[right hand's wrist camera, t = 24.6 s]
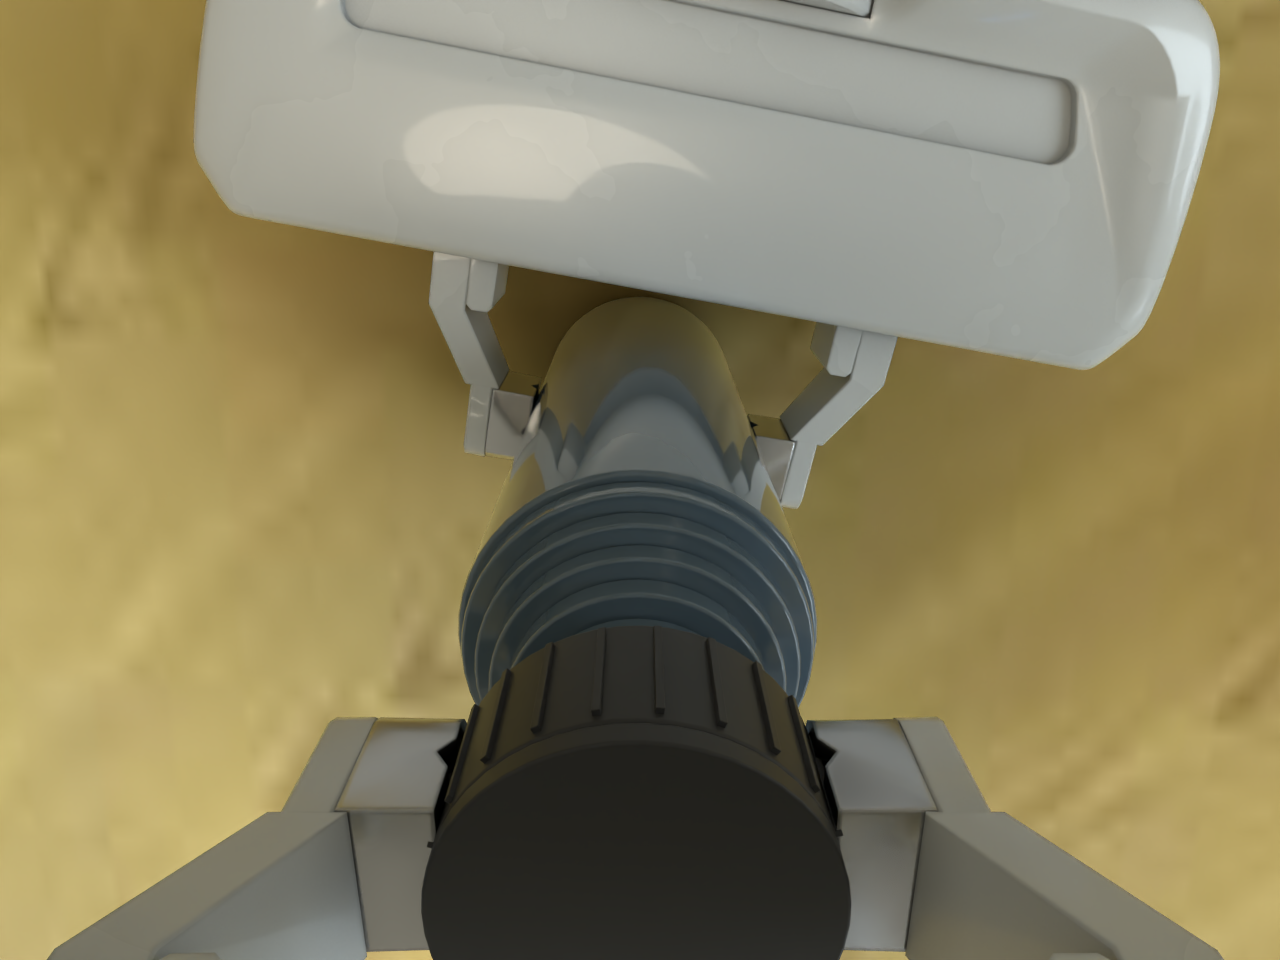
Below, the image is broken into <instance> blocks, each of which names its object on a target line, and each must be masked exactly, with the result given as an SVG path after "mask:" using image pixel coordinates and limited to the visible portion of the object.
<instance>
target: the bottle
mask: <svg viewBox="0 0 1280 960" xmlns="http://www.w3.org/2000/svg"><path fill="white" fill-rule="evenodd" d="M617 626H662V627H665V628H672V629H676V630H681V631H686V632H691V633H694V634H697V635H700V636H703V637H706V638H708V637H711V638H713V639H715V640H716V641H717V642H719V643H721V644H723V645H725V646H727V647H729V648H732V649H734V650H736V651H737V652H739V653H740V654H742V655H743V656H745V657H747V658H748V659H750V660H751V661H753V662H755V661H757V662H759V663H760V664H761V665H762V669H763V670H764V671H765V672H766V673H768V674H769V675H770V676H771V677H772V678H773V679H774V680H775V681H776V682H777V683H778V684H779V685H780V687H781V688H782V689H783V690H784V691H785V692H786V693H787V695H788V696H790V695H793V696H794V698H795V699H796V702H797V706H798V707H799V705H800V703H801V701H802V699H803V697H804V695H805V692H806V689H807V685H808V682H809V679H810V676H811V670H812V664H813V659H814V654H815V648H816V642H817V613H816V605H815V598H814V595H813V591H812V588H811V584H810V581H809V578H808V575H807V572H806V570H805V567H804V564H803V562H802V559H801V556H800V554H799V551H798V549H797V546H796V543H795V541H794V538H793V535H792V533H791V530H790V527H789V525H788V522H787V520H786V517H785V514H784V512H783V509H782V506H781V504H780V501H779V498H778V496H777V493H776V491H775V488H774V485H773V483H772V480H771V477H770V475H769V472H768V469H767V467H766V464H765V462H764V459H763V456H762V454H761V451H760V448H759V446H758V443H757V440H756V438H755V435H754V432H753V430H752V427H751V425H750V422H749V419H748V417H747V414H746V411H745V409H744V406H743V403H742V401H741V398H740V396H739V393H738V390H737V388H736V385H735V382H734V380H733V377H732V374H731V372H730V369H729V367H728V364H727V361H726V359H725V356H724V354H723V351H722V349H721V347H720V345H719V343H718V341H717V340H716V338H715V336H714V335H713V333H712V332H711V331H710V330H709V329H708V327H707V326H706V325H705V324H704V323H703V322H702V321H701V320H700V319H699V318H697V317H696V316H695V315H693V314H692V313H691V312H689V311H688V310H686V309H684V308H682V307H680V306H678V305H676V304H674V303H671V302H668V301H666V300H661V299H657V298H651V297H627V298H622V299H616V300H613V301H610V302H607V303H604V304H602V305H600V306H598V307H596V308H594V309H592V310H591V311H589V312H588V313H586V314H585V315H583V316H582V317H581V318H580V319H579V320H578V321H576V322H575V323H574V324H573V326H572V327H571V328H570V329H569V330H568V331H567V333H566V334H565V336H564V337H563V339H562V340H561V342H560V344H559V346H558V348H557V350H556V352H555V354H554V357H553V360H552V362H551V365H550V367H549V370H548V372H547V375H546V377H545V380H544V382H543V385H542V388H541V390H540V393H539V395H538V398H537V400H536V403H535V405H534V408H533V411H532V413H531V416H530V418H529V421H528V423H527V426H526V428H525V431H524V433H523V436H522V439H521V441H520V444H519V446H518V449H517V451H516V454H515V456H514V459H513V462H512V464H511V467H510V469H509V472H508V474H507V477H506V479H505V482H504V484H503V487H502V490H501V492H500V495H499V497H498V500H497V502H496V505H495V507H494V510H493V513H492V515H491V518H490V520H489V523H488V525H487V528H486V530H485V533H484V535H483V538H482V541H481V543H480V546H479V548H478V551H477V553H476V556H475V558H474V561H473V564H472V566H471V569H470V571H469V574H468V577H467V580H466V583H465V586H464V589H463V592H462V597H461V603H460V609H459V629H458V635H459V643H460V650H461V656H462V660H463V668H464V673H465V677H466V680H467V684H468V687H469V691H470V693H471V695H472V697H473V700H474V702H475V704H476V705H478V706H479V704H480V703H481V701H482V700H483V698H484V697H485V696H486V695H487V693H488V692H489V691H490V689H491V688H492V687H493V686H494V684H495V683H497V682H498V681H499V680H500V679H501V676H502V672H503V671H505V670H506V669H507V668H508V669H509V670H510V669H511V668H513V667H514V666H516V665H517V664H518V663H520V662H521V661H522V660H524V659H525V658H527V657H528V656H529V655H531V654H533V653H535V652H537V651H539V650H540V649H542V648H544V647H545V646H546V644H548V643H550V642H553V643H554V642H557V641H560V640H562V639H565V638H567V637H570V636H572V635H576V634H580V633H584V632H588V631H591V630H596V629H598V628H602V627H606V628H610V627H617Z"/></svg>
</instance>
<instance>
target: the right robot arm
mask: <svg viewBox="0 0 1280 960" xmlns="http://www.w3.org/2000/svg"><path fill="white" fill-rule="evenodd" d="M466 726H467V723H466V721H465V719H431V718H384V717H381V718H379V719H378V718H376V717H337V718H335V719H334V720H332V721H330V722H329V723H328V725H327V727H326V728H325V730H324V732H323V734H322V736H321V738H320V740H319V741H318V743H317V745H316V747H315V749H314V751H313V753H312V755H311V756H310V758H309V760H308V762H307V764H306V766H305V768H304V769H303V771H302V773H301V775H300V777H299V779H298V781H297V783H296V784H295V786H294V788H293V790H292V792H291V794H290V796H289V798H288V799H287V801H286V803H285V805H284V807H283V809H282V811H281V812H267V813H265V814H264V815H262V816H261V817H259V818H258V819H256V820H254V821H253V822H251V823H250V824H248V825H247V826H245V827H244V828H242V829H240V830H239V831H237V832H236V833H234V834H233V835H231V836H230V837H228V838H226V839H225V840H223V841H222V842H220V843H219V844H217V845H216V846H214V847H212V848H211V849H209V850H208V851H206V852H205V853H203V854H202V855H200V856H198V857H197V858H195V859H194V860H192V861H191V862H189V863H188V864H186V865H184V866H183V867H181V868H180V869H178V870H177V871H175V872H174V873H172V874H170V875H169V876H167V877H166V878H164V879H163V880H161V881H160V882H158V883H156V884H155V885H153V886H152V887H150V888H149V889H147V890H146V891H144V892H142V893H141V894H139V895H138V896H136V897H135V898H133V899H132V900H130V901H128V902H127V903H125V904H124V905H122V906H121V907H119V908H118V909H116V910H114V911H113V912H111V913H110V914H108V915H107V916H105V917H103V918H102V919H100V920H99V921H97V922H96V923H94V924H93V925H91V926H89V927H88V928H86V929H85V930H83V931H82V932H80V933H79V934H77V935H75V936H74V937H72V938H71V939H69V940H68V941H66V942H65V943H63V944H61V945H60V946H58V947H57V948H55V949H54V951H53V952H52V953H51V955H50V956H49V957H48V959H47V960H364V959H365V958H366V957H367V953H366V952H373V951H407V950H429V947H428V944H427V941H426V938H425V934H424V928H423V922H422V915H421V893H422V886H423V881H424V875H425V870H426V866H427V863H428V860H429V856H430V853H431V850H432V848H428V847H427V843H428V841H429V842H434V839H435V836H436V833H437V830H438V826H439V823H440V820H441V816H442V813H443V809H444V806H445V803H446V802H445V797H446V794H447V790H448V787H449V775H448V774H449V773H451V772H453V770H454V767H455V763H456V760H457V756H458V753H459V750H460V746H461V743H462V739H463V736H464V733H465V729H466ZM806 729H807V731H808V735H809V736H810V739H811V743H812V746H813V750H814V754H815V757H817V758H819V759H821V760H822V763H823V766H824V770H825V773H824V783H823V786H824V789H825V793H826V796H827V799H828V803H829V806H830V810H831V813H832V817H833V820H834V823H835V827H836V830H842V833H843V836H841V837H837V839H838V842H839V846H840V849H841V853H842V856H843V860H844V864H845V867H846V871H847V874H848V878H849V883H850V892H851V902H852V904H851V918H850V927H849V931H848V935H847V939H846V943H845V947H844V950H864V951H899V952H906V955H905V956H906V957H907V958H908V959H909V960H1224V959H1223V958H1222V956H1221V955H1220V953H1219V952H1218V951H1217V950H1216V949H1214V948H1213V947H1211V946H1210V945H1208V944H1207V943H1205V942H1204V941H1202V940H1201V939H1199V938H1198V937H1196V936H1194V935H1193V934H1191V933H1190V932H1188V931H1187V930H1185V929H1184V928H1182V927H1181V926H1179V925H1178V924H1176V923H1174V922H1173V921H1171V920H1170V919H1168V918H1167V917H1165V916H1164V915H1162V914H1161V913H1159V912H1158V911H1156V910H1154V909H1153V908H1151V907H1150V906H1148V905H1147V904H1145V903H1144V902H1142V901H1141V900H1139V899H1138V898H1136V897H1134V896H1133V895H1131V894H1130V893H1128V892H1127V891H1125V890H1124V889H1122V888H1121V887H1119V886H1118V885H1116V884H1114V883H1113V882H1111V881H1110V880H1108V879H1107V878H1105V877H1104V876H1102V875H1101V874H1099V873H1098V872H1096V871H1094V870H1093V869H1091V868H1090V867H1088V866H1087V865H1085V864H1084V863H1082V862H1081V861H1079V860H1078V859H1076V858H1074V857H1073V856H1071V855H1070V854H1068V853H1067V852H1065V851H1064V850H1062V849H1061V848H1059V847H1058V846H1056V845H1054V844H1053V843H1051V842H1050V841H1048V840H1047V839H1045V838H1044V837H1042V836H1041V835H1039V834H1038V833H1036V832H1034V831H1033V830H1031V829H1030V828H1028V827H1027V826H1025V825H1024V824H1022V823H1021V822H1019V821H1018V820H1016V819H1014V818H1013V817H1011V816H1010V815H1008V814H1007V813H1005V812H991V810H990V808H989V806H988V805H987V803H986V801H985V799H984V797H983V795H982V793H981V791H980V789H979V788H978V786H977V784H976V782H975V780H974V778H973V776H972V774H971V772H970V771H969V769H968V767H967V765H966V763H965V761H964V759H963V757H962V755H961V754H960V752H959V750H958V748H957V746H956V744H955V742H954V740H953V738H952V737H951V735H950V733H949V731H948V729H947V727H946V725H945V723H944V721H942V720H941V719H939V718H938V717H912V718H894V719H871V720H807V723H806Z"/></svg>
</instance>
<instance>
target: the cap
mask: <svg viewBox="0 0 1280 960" xmlns="http://www.w3.org/2000/svg"><path fill="white" fill-rule="evenodd" d="M824 773H825V770H824V766H823V763H822V760H821V759H819V758H817V757H815V754H814V750H813V746H812V743H811V739H810V736H809V735H808V731H807V729H806V726H805V724H804V722H803V720H802V718H801V716H800V713H799V709H798V706H797V702H796V699H795V698H794V696H793V695H790V696H788V695H787V693H786V692H785V691H784V690H783V689H782V688H781V687H780V685H779V684H778V683H777V682H776V681H775V680H774V679H773V678H772V677H771V676H770V675H769V674H768V673H766V672H765V671H764V670H763V669H762V665H761V664H760V663H759V662H757V661H755V662H753V661H751V660H750V659H748V658H747V657H745V656H743V655H742V654H740V653H739V652H737V651H736V650H734V649H732V648H729V647H727V646H725V645H723V644H721V643H719V642H717V641H716V640H715V639H713V638H711V637H708V638H706V637H703V636H700V635H697V634H694V633H691V632H686V631H681V630H676V629H672V628H665V627H662V626H617V627H610V628H606V627H602V628H598V629H596V630H591V631H588V632H584V633H580V634H576V635H572V636H570V637H567V638H565V639H562V640H560V641H557V642H554V643H553V642H550V643H548V644H546V646H545V647H544V648H542V649H540V650H539V651H537V652H535V653H533V654H531V655H529V656H528V657H527V658H525V659H524V660H522V661H521V662H520V663H518V664H517V665H516V666H514V667H513V668H511V669H510V670H509V669H508V668H507V669H506V670H505V671H503V672H502V676H501V679H500V680H499V681H498V682H497V683H495V684H494V686H493V687H492V688H491V689H490V691H489V692H488V693H487V695H486V696H485V697H484V698H483V700H482V701H481V703H480V704H479V706H478V705H476V704H474V706H473V707H472V709H471V712H470V716H469V719H468V722H467V726H466V729H465V733H464V736H463V739H462V743H461V746H460V750H459V753H458V756H457V760H456V763H455V767H454V770H453V772H451V773H449V774H448V775H449V787H448V790H447V794H446V797H445V802H446V803H445V806H444V809H443V813H442V816H441V820H440V823H439V826H438V830H437V833H436V836H435V839H434V842H429V841H428V843H427V847H428V848H432V850H431V853H430V856H429V860H428V863H427V866H426V870H425V875H424V881H423V886H422V893H421V915H422V922H423V928H424V934H425V938H426V941H427V944H428V947H429V950H430V953H431V956H432V958H433V960H839V959H840V957H841V954H842V952H843V950H844V947H845V943H846V939H847V935H848V931H849V927H850V918H851V904H852V902H851V892H850V883H849V878H848V874H847V871H846V867H845V864H844V860H843V856H842V853H841V849H840V846H839V842H838V839H837V837H841V836H843V833H842V830H836V827H835V823H834V820H833V817H832V813H831V810H830V806H829V803H828V799H827V796H826V793H825V789H824V786H823V783H824Z"/></svg>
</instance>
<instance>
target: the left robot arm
mask: <svg viewBox="0 0 1280 960" xmlns="http://www.w3.org/2000/svg"><path fill="white" fill-rule="evenodd" d="M1219 77H1220V56H1219V46H1218V41H1217V36H1216V32H1215V29H1214V26H1213V24H1212V21H1211V19H1210V16H1209V15H1208V13H1207V12H1206V10H1205V8H1204V7H1203V5H1202V4H1201V3H1200V2H1199V0H206V6H205V13H204V21H203V28H202V36H201V43H200V53H199V63H198V74H197V85H196V99H195V113H194V151H195V155H196V159H197V161H198V163H199V165H200V167H201V169H202V170H203V172H204V173H205V175H206V176H207V178H208V179H209V181H210V183H211V184H212V186H213V187H214V189H215V190H216V192H217V193H218V195H219V196H220V198H221V199H222V201H223V202H224V203H225V205H226V206H227V207H228V209H230V210H231V211H232V212H233V213H235V214H237V215H240V216H244V217H249V218H254V219H259V220H265V221H270V222H275V223H281V224H286V225H292V226H297V227H303V228H308V229H314V230H319V231H325V232H330V233H335V234H341V235H346V236H352V237H357V238H363V239H368V240H374V241H379V242H384V243H390V244H395V245H401V246H406V247H412V248H417V249H423V250H428V251H433V252H434V254H433V264H432V274H431V284H430V294H429V305H430V307H431V309H432V312H433V314H434V316H435V318H436V320H437V323H438V325H439V327H440V329H441V331H442V334H443V336H444V338H445V340H446V342H447V345H448V347H449V349H450V351H451V353H452V355H453V358H454V360H455V362H456V364H457V366H458V369H459V371H460V373H461V375H462V377H463V380H464V382H465V383H466V384H470V385H471V387H470V395H469V404H468V412H467V421H466V429H465V438H464V452H465V453H469V454H474V455H479V456H483V457H485V456H489V457H496V458H502V459H509V460H513V459H514V456H515V454H516V451H517V449H518V446H519V444H520V441H521V439H522V436H523V433H524V431H525V428H526V426H527V423H528V421H529V418H530V416H531V413H532V411H533V408H534V405H535V403H536V400H537V398H538V395H539V392H540V384H541V377H536V376H531V375H526V374H521V373H516V372H511V371H509V367H508V365H507V362H506V360H505V357H504V355H503V352H502V349H501V347H500V344H499V342H498V339H497V337H496V334H495V332H494V329H493V327H492V324H491V322H490V319H489V316H488V314H487V312H488V311H489V310H490V309H492V308H493V306H494V305H495V304H496V303H497V302H498V301H499V300H500V299H501V297H502V296H503V295H504V294H505V291H506V284H507V277H508V269H509V265H510V266H515V267H521V268H526V269H531V270H537V271H542V272H548V273H553V274H559V275H564V276H570V277H575V278H580V279H586V280H591V281H597V282H602V283H608V284H613V285H619V286H624V287H630V288H635V289H640V290H646V291H651V292H657V293H662V294H668V295H673V296H679V297H684V298H689V299H695V300H700V301H706V302H711V303H717V304H722V305H728V306H733V307H738V308H744V309H749V310H755V311H760V312H766V313H771V314H777V315H782V316H787V317H793V318H798V319H804V320H809V321H815V322H816V325H815V330H814V334H813V338H812V343H811V347H810V349H811V351H812V353H813V354H814V355H815V357H816V358H817V359H818V360H819V361H820V363H821V364H822V365H823V366H824V368H823V369H822V370H821V371H820V372H819V373H818V375H817V376H816V377H815V378H814V379H813V380H812V381H811V382H810V383H809V385H808V386H807V387H806V388H805V389H804V390H803V391H802V392H801V393H800V395H799V396H798V397H797V398H796V399H795V400H794V401H793V402H792V403H791V405H790V406H789V407H788V408H787V409H786V410H785V411H784V412H783V413H782V415H781V416H780V419H778V418H771V417H765V416H758V415H752V414H748V415H747V417H748V419H749V422H750V425H751V427H752V430H753V432H754V435H755V438H756V440H757V443H758V446H759V448H760V451H761V454H762V456H763V459H764V462H765V464H766V467H767V469H768V472H769V475H770V477H771V480H772V483H773V485H774V488H775V491H776V493H777V496H778V498H779V501H780V504H781V506H782V507H786V508H792V509H797V508H799V506H800V504H801V502H802V500H803V496H804V492H805V488H806V485H807V481H808V477H809V473H810V470H811V466H812V462H813V458H814V455H815V451H816V447H817V445H820V446H823V445H824V444H825V443H826V442H827V441H828V440H829V439H830V438H831V437H832V436H833V435H834V434H835V433H836V432H837V431H838V430H839V429H840V428H841V427H842V426H843V425H844V424H845V423H846V422H847V421H848V420H849V419H850V418H851V417H852V416H853V415H854V414H855V413H856V412H857V411H858V410H859V409H860V408H861V407H862V406H863V405H864V404H865V403H867V402H868V401H869V400H870V399H871V398H872V397H873V396H874V395H875V394H876V393H877V392H878V391H879V390H880V389H881V388H882V387H883V386H884V383H885V379H886V376H887V372H888V369H889V366H890V362H891V359H892V355H893V352H894V348H895V345H896V342H897V338H898V337H902V338H907V339H913V340H918V341H924V342H929V343H935V344H940V345H945V346H951V347H956V348H962V349H967V350H973V351H978V352H984V353H989V354H994V355H1000V356H1005V357H1011V358H1016V359H1022V360H1027V361H1033V362H1038V363H1044V364H1049V365H1055V366H1060V367H1066V368H1071V369H1077V370H1088V369H1091V368H1093V367H1095V366H1097V365H1098V364H1100V363H1101V362H1103V361H1104V360H1106V359H1107V358H1108V357H1110V356H1111V355H1112V354H1114V353H1115V352H1116V351H1117V350H1119V349H1120V348H1121V347H1123V346H1124V345H1125V344H1126V343H1127V342H1129V341H1130V340H1131V339H1132V338H1134V337H1135V336H1136V335H1137V334H1138V333H1139V332H1140V331H1141V329H1142V328H1143V327H1144V325H1145V323H1146V321H1147V319H1148V318H1149V316H1150V314H1151V312H1152V310H1153V307H1154V305H1155V302H1156V300H1157V298H1158V295H1159V293H1160V290H1161V288H1162V285H1163V282H1164V280H1165V277H1166V274H1167V272H1168V269H1169V266H1170V263H1171V260H1172V257H1173V255H1174V252H1175V249H1176V246H1177V243H1178V240H1179V237H1180V234H1181V231H1182V228H1183V225H1184V222H1185V219H1186V216H1187V213H1188V209H1189V206H1190V202H1191V199H1192V196H1193V192H1194V189H1195V185H1196V182H1197V179H1198V175H1199V172H1200V168H1201V164H1202V161H1203V157H1204V153H1205V149H1206V146H1207V142H1208V138H1209V134H1210V130H1211V125H1212V121H1213V117H1214V113H1215V108H1216V102H1217V96H1218V89H1219Z"/></svg>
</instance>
